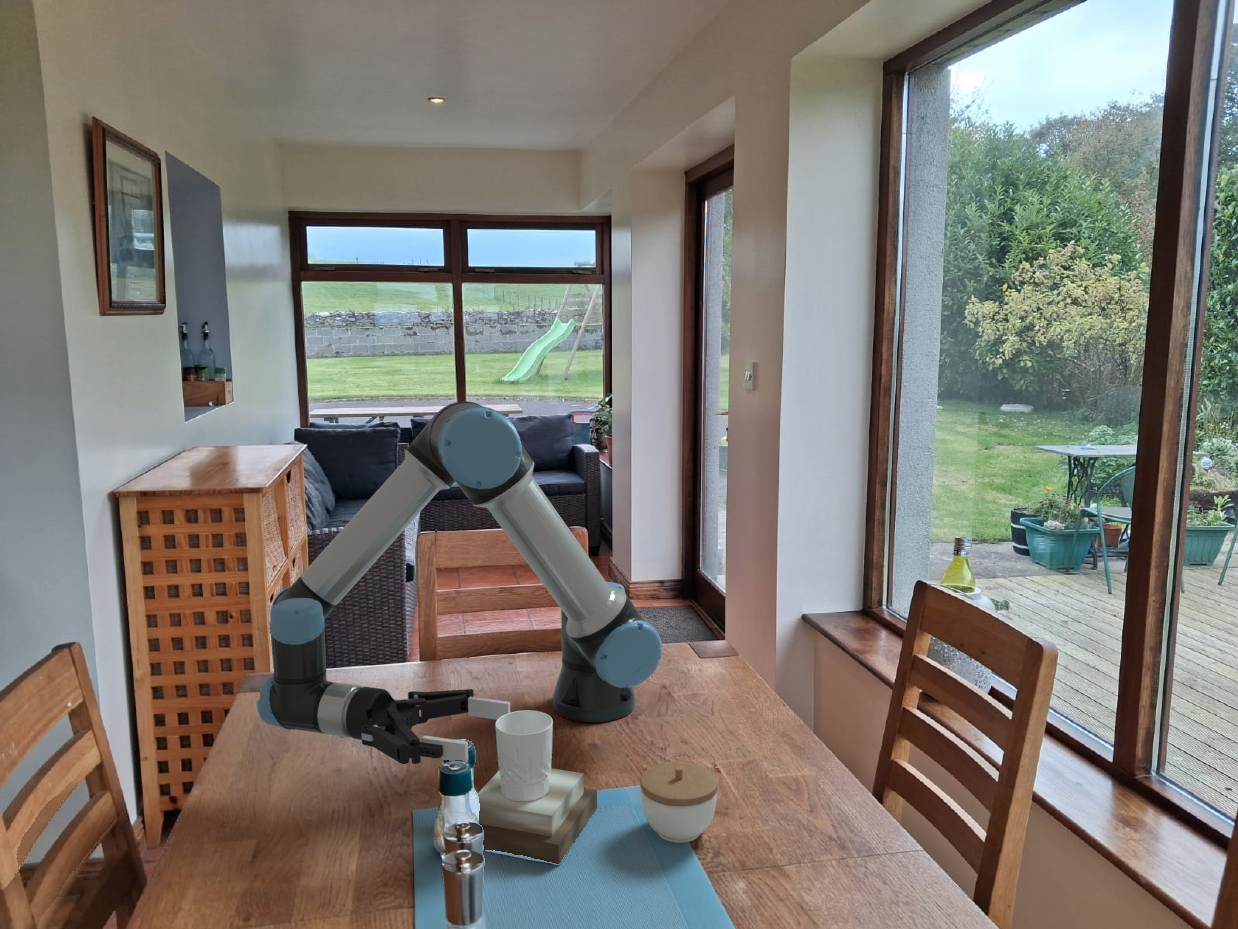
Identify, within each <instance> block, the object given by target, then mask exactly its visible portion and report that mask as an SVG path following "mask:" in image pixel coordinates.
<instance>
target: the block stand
mask: <svg viewBox="0 0 1238 929" xmlns="http://www.w3.org/2000/svg"><path fill="white" fill-rule="evenodd" d="M584 776H585V773H583V772H575V771H569V770H564V769H557V768H552V767H551V772H550V787H549V792H548V793H547V794H546V795H545V796H544V797H541V798H539V799H536V800H532V801H525V802H522V801H513V800H511V799H508V798H506V797H505V796H504V795H503V793H502V792H501V781H500V772H499V770H498V771H497V772H496V773H495V774H494V776H492V778H490V779H489V781H488V782H487V783H486V784H485V785H484V786H483V787H482V788H481V789H480V791H479V792H477V794H478V796H479V803H480V811H479V824H480V825H482V827H483V830H484V840H483V845H484V851H485V850H492V851H493V850H495V851H501V852H507V853H512V854H514V855H523V856H527V857H531V858H534V859H540V860H544V861H547V862H552V863H556V864H559V863H560V862H561V860H562V859H563V857H564V855H565V854H566V853H567V851H568V850H569V849H570V847H571V846H572V844H573V843H574V841H575V840H576V838H577V839H579V837H580V835H581V834H582V832H583V831H584V829H585V828H586V826H587V825H586V824H588V823H589V822H590V820H591V819H590V818H592V817H593V816H592V815H594V814H595V813H596V811H597V810H598V789H597V788H589V787H585V785H584V778H585V777H584ZM596 809H597V810H596ZM594 812H595V813H594ZM589 819H590V820H589ZM588 821H589V822H588ZM587 822H588V823H587ZM585 825H586V826H585ZM584 827H585V828H584ZM583 828H584V829H583ZM582 830H583V831H582ZM580 833H581V834H580ZM579 834H580V835H579ZM578 836H579V837H578ZM576 841H577V840H576ZM576 841H575V842H576ZM574 844H575V843H574ZM574 844H573V845H574ZM572 847H573V846H572ZM572 847H571V848H572ZM570 850H571V849H570ZM570 850H569V851H570ZM567 854H568V853H567ZM563 860H564V859H563ZM561 863H562V862H561Z"/></svg>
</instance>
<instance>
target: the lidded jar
mask: <svg viewBox="0 0 1238 929" xmlns="http://www.w3.org/2000/svg"><path fill="white" fill-rule="evenodd" d="M639 779H640V783H639V786H640V790H641V792H640V793H641V794H640V795H641V798H640V799H641V807H642V810H643V814H644V817H645V819H646V821H647V823H648V824H649V825H650V827H651V828H652V830H654V831H655V832H656V833H657V835H658V836H659V837H660V838H661V839H663V841H667V842H669V843H674V844H686V843H690V842H694V841H695V840H696V839H698V838H699V837H700V835H701V834H702V833H704V831H706V830H707V828H709V826H710V824H711V823H712V821H713V818H714V816H715V812H716V808H717V798H718V788H719V787H718V786H719V781H718V778H717V776H716V774H714V772H713V771H711V769H709V768H708V767H705V766H703V765H700V764H697V763H693V762H687V761H668V762H660V763H658V764H655V765H651V766H650V767H649V768H647V769H646V770H645V771H643V773H642V775H641V776H640V778H639Z"/></svg>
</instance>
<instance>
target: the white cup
mask: <svg viewBox="0 0 1238 929" xmlns="http://www.w3.org/2000/svg"><path fill="white" fill-rule="evenodd" d="M494 725H495V737H496V738H495V739H496V740H495V741H496V751H497V754H496V755H497V761H498V771H499V772H500V781H501V792H502V793H503V795H504V796H505V797H506V798H508V799H511V800H513V801H522V802H525V801H532V800H536V799H539V798H541V797H544V796H545V795H546V794H547V793H548V792H549V787H550V772H551V768H552V758H553V757H552V754H553V732H554V731H553V730H554V729H553V728H554V727H553V725H554V722H553V718H552V717H551V716H550V714H547V713H546V712H542V711H538V710H530V709H528V710H527V709H526V710H525V709H524V710H522V709H521V710H516V711H510V713H507V714H505V715H503V716H501V717H500V718H498V719H497V720H496V721H495V723H494Z"/></svg>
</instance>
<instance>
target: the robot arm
mask: <svg viewBox="0 0 1238 929" xmlns="http://www.w3.org/2000/svg"><path fill="white" fill-rule="evenodd" d="M534 468H535V462H534V460H533V459H532V457H531V456H530V455H529V453H528V451H527V450H526V449H525V447H524V445H523V444H522V441H521V438H520V435H519V433H518V430H517V429H516V427H515V425H514V424H513V423H512V421H511V420H509V418H508V417H507V416H506V415H504V414H503V413H502V412H499V411H498V410H495V409H493V408H491V407H486V406H483V405H481V404H479V403H477V402H472V401H456V402H453V403H449V404H447V405H446V406H444V407H443V408H441V409H439V411H437V413H435V415H433V417H432V418H431V419H430V420H429V421H428V423H427V424H426V425H425V426H424V428H422V430H421V431H420V433H419V434H418V435H416V437H415V438H414V440H412V442H411V443H410V444H409V445H408V446H407V448H406V449H405V450H404V460H403V462H401V463H400V464H399V465H398V467H397V468H396V469H395V470H394V471H393V473H391V475H390V476H389V477H388V478H387V479H386V480H385V481H384V482H383V484H382V485H381V486H380V487H379V488H378V489H377V490H376V491H375V492H374V494H372V496H370V498H369V499H368V500H367V501H366V502H365V504H364V505H363V506H362V507H361V508H360V509H359V510H358V511H357V512H356V514H355V515H354V516H353V517H352V518H351V519H350V520H349V521H348V522H347V523H346V524H345V525H344V527H343V528H342V529H341V530H340V531H339V532H338V534H336V536H335V537H334V538H332V540H331V541H330V543H329V544H328V545H327V546H325V548H324V549H323V550H322V551H321V552H320V554H318V555H317V557H316V558H315V559H314V560H313V561H312V562H311V563H310V565H309V566H307V568H306V569H305V570H304V571H303V572H302V574H300V576H299V577H298V578H297V579H296V580H295V581H294V582H293V583H292V585H290V586H287V587H285V588H283V589H282V590H281V591H280V592H279V593H278V594H277V595H276V596H275V598H274V600H273V602H272V606H271V608H270V611H269V618H270V619H269V620H270V621H269V634H270V644H271V653H272V654H271V656H272V665H273V666H272V667H273V676H271V677H269V678H268V679H266V680H265V682H264V683H263V685H261V688H260V690H259V696H260V697H259V698H258V699H257V703H256V704H257V706H256V707H257V712H258V715H259V717H260V719H261V720H262V721H263V722H264V723H266V724H267V725H269V726H274V727H279V728H282V729H285V730H288V731H291V730H293V731H295V730H296V731H304V732H310V733H317V734H318V733H319V734H324V735H331V736H337V737H339V738H340V739H344V738H352V739H354V740H359V741H361V744H362V745H363V746H367V747H371V748H373V749H376V750H378V751H379V752H381V753H383V754H384V755H386V756H388V757H389V758H391V759H392V760H394V761H396V762H397V763H399V764H401V765H407V764H409V762H410V760H411V764H412V765H418V764H420V763H421V761H422V759H421V758H423V757H424V758H429V759H437V760H442V761H447V760H449V761H448V762H454V761H455V760H462V761H465V762H467V763H468V762H469V743H468V741H464V740H458V739H452V738H451V739H450V738H445V737H437V736H432V735H424V736H422V737H421V739H420V738H419V737H418V736H417V734H416V733H415V732H414V731H413V730H412V729H413V727H415V726H417V725H420V724H426V723H427V722H428V721H429V720H431V719H436V718H438V719H439V718H443V717H449V716H455V715H461V714H467V713H468V716H469V717H475V718H482V719H483V718H484V719H489V720H496V721H497V719H498V718H500V717H501V716H503V715H505V714H507V713H510V712H511V701H505V700H500V699H499V700H498V699H490V698H484V697H478V696H477V697H475V696H474V689H472V688H468V689H467V688H466V689H452V690H434V691H414V690H413V691H412V690H411V691H408V692H407V699H398V700H397V699H395V698H393V696H392V695H391V694H390V692H389V691H388V690H386V689H385V688H379V687H372V686H371V687H370V686H363V685H359V684H351V683H343V682H342V683H341V682H335V681H334V682H333V681H329V680H327V666H326V663H327V662H326V639H325V637H326V636H325V628H326V623H325V620H326V618H327V617H328V616H329V615H330V614H331V612H332V611H333V610H334V609H335V608H336V607H337V606H338V604H339V603H340V602H341V600H343V599H344V597H345V596H347V594H348V593H349V592H350V591H351V590H352V588H353V587H354V586H355V585H356V584H357V583H358V582H359V581H360V580H361V579H362V577H363V576H364V575H366V573H367V572H368V571H369V569H370V568H371V567H372V566H373V565H374V564H375V563H376V562H377V560H378V559H379V558H380V557H381V556H382V555H383V554H384V553H385V551H387V549H388V548H389V547H390V546H391V545H392V544H393V543H394V542H395V541H396V539H398V537H399V536H400V535H401V533H403V531H405V530H406V528H407V527H408V526H410V523H412V522H413V520H414V519H415V518H416V517H417V516H418V515H419V513H421V511H422V510H424V508H425V507H426V506H427V505H428V504H429V503H430V502H431V500H432V499H433V498H434V497H435V495H437V493H439V491H441V490H449V489H450V488H451V487H452V486H453V485H454V484H457V486H458V487H459V489H461V491H462V493H463V494H464V495H465V497H466V498H467V499H468V500H469V502H470V503H471V505H473V506H474V507H478V508H485V509H488V511H489V512H490V514H491V515H492V517H493V518H494V519H495V520H496V522H497V523H498V525H499V526H500V528H501V529H502V530H503V532H504V533H505V534H506V536H507V537H508V538H509V540H510V541H511V542H512V544H513V545H514V546H515V548H516V550H518V552H519V553H520V555H521V556H522V558H523V559H524V560H525V561H526V563H527V565H528V566H529V567H530V568H531V570H532V571H533V573H534V574H535V575H536V576H537V578H538V580H539V581H540V582H541V584H542V585H543V586H544V588H545V589H546V590H547V592H548V593H549V594H550V596H551V597H552V598H553V599H554V601H555V602H556V604H557V605H558V606H559V608H560V619H561V622H560V623H561V624H560V625H561V629H560V630H561V669H560V672H559V675H558V677H557V678H558V679H557V680H556V685H555V687H554V691H553V695H552V707H553V710H554V712H555V713H556V714H558V715H559V716H561V717H563V718H565V719H568V720H571V721H575V722H581V723H605V722H609V721H611V722H612V721H615V720H619V719H622V718H623V717H626V716H627V715H630V713H631V712H633V710H635V707H636V694H635V691H634V687H636V686H638V685H640V684H642V683H644V682H646V681H647V680H648V679H649V678H650V677H652V675H653V674H654V673H655V671H656V670H657V668H658V667H659V665H660V662H661V657H662V655H663V643H662V639H661V636H660V634H659V633H658V631H657V629H656V628H655V627H654V626H653V625H652V624H651V623H649V622H648V621H646V619H644V617H643V616H642V615H641V614H640V612H639V610H638V609H637V607H636V606H635V605H634V604H633V602H632V601H631V599H630V597H629V596H628V594H626V591H625V589H626V588H625V587H624V586H623V585H622V584H620V583H618V582H612V581H611V582H608V581H606V579H605V578H604V577H603V575H602V574H601V572H600V571H599V569H598V568H597V567H596V565H595V563H594V562H593V560H592V559H591V558H590V556H588V554H587V552H586V551H585V550H584V548H583V547H582V545H581V544H580V543H579V541H578V540H577V538H576V537H575V535H574V534H573V532H572V531H571V530H570V528H569V527H568V525H567V524H566V522H565V521H564V520H563V519H562V517H561V516H560V514H559V513H558V511H557V510H556V508H555V507H554V505H553V504H552V503H551V501H550V500H549V498H548V497H547V495H546V494H545V493H544V491H543V490H542V488H541V487H540V486H539V484H538V483H537V481H536V480H535V479H534V477H533V472H534Z"/></svg>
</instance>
